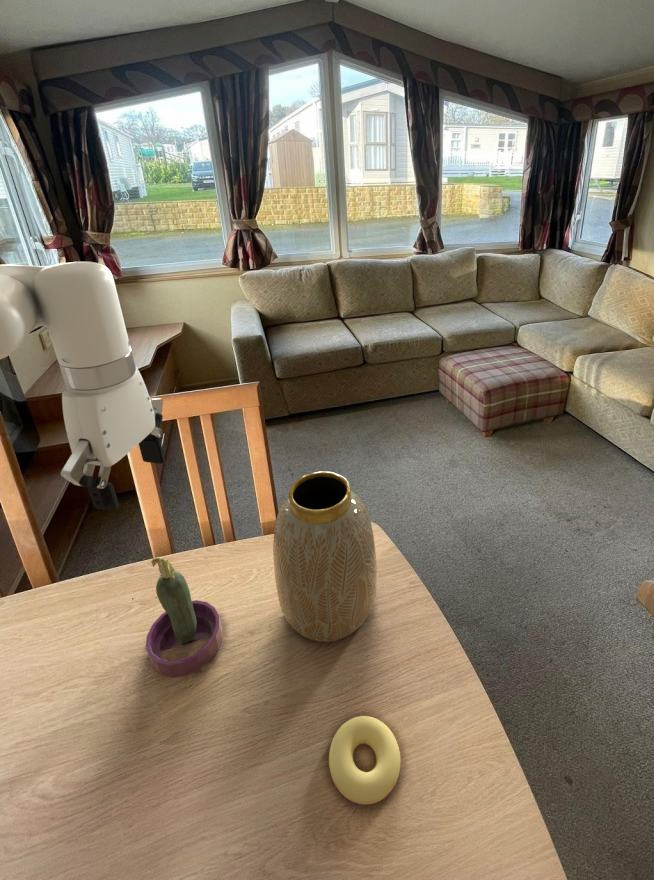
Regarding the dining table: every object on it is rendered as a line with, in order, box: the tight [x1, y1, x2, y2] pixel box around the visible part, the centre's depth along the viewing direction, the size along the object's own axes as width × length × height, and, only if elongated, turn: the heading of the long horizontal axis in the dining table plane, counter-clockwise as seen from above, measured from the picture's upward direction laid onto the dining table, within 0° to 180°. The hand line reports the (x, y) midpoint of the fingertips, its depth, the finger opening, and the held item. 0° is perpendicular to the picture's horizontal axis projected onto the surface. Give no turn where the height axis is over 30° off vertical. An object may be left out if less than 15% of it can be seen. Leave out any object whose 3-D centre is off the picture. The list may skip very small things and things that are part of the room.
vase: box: [272, 471, 378, 643], centre depth 81 cm, size 17×17×27 cm
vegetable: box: [150, 556, 197, 646], centre depth 76 cm, size 4×4×20 cm
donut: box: [328, 715, 401, 806], centre depth 65 cm, size 10×5×9 cm
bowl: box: [145, 599, 224, 678], centre depth 80 cm, size 11×11×4 cm
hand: (132, 483), depth 65 cm, fingers open, 9 cm apart
